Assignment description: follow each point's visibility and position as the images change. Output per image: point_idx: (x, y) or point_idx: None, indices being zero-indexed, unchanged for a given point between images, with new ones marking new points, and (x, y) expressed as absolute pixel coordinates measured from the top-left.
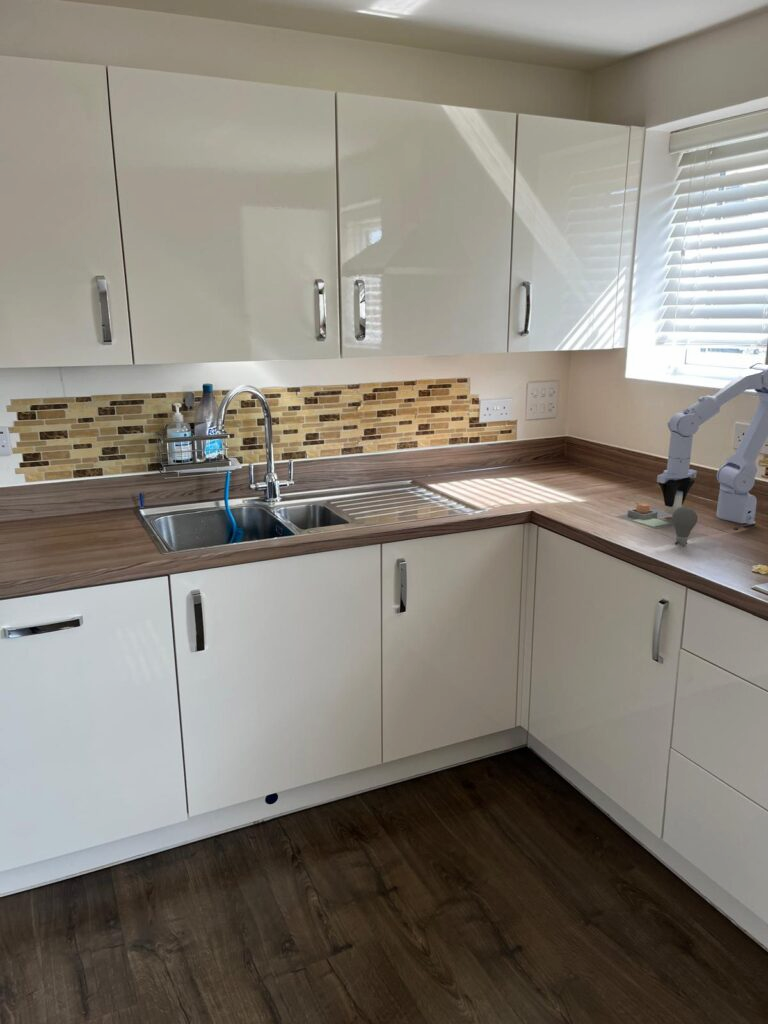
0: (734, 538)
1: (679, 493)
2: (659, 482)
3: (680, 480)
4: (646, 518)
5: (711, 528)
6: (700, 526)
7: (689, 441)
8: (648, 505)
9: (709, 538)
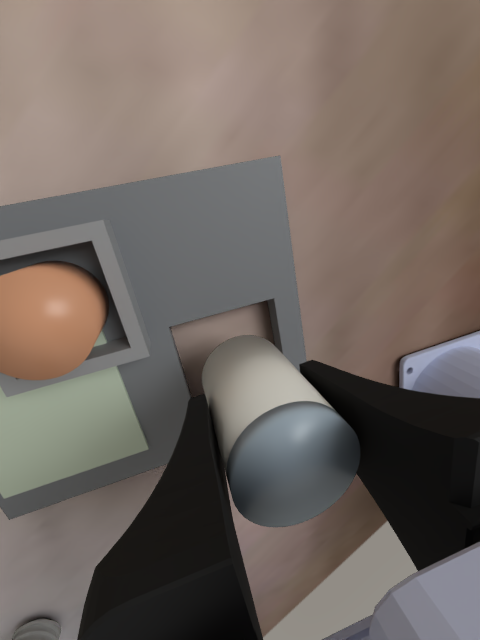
0: (290, 551)
1: (283, 523)
2: (82, 618)
3: (449, 530)
4: None
5: None
6: None
7: None
8: (68, 357)
9: None
